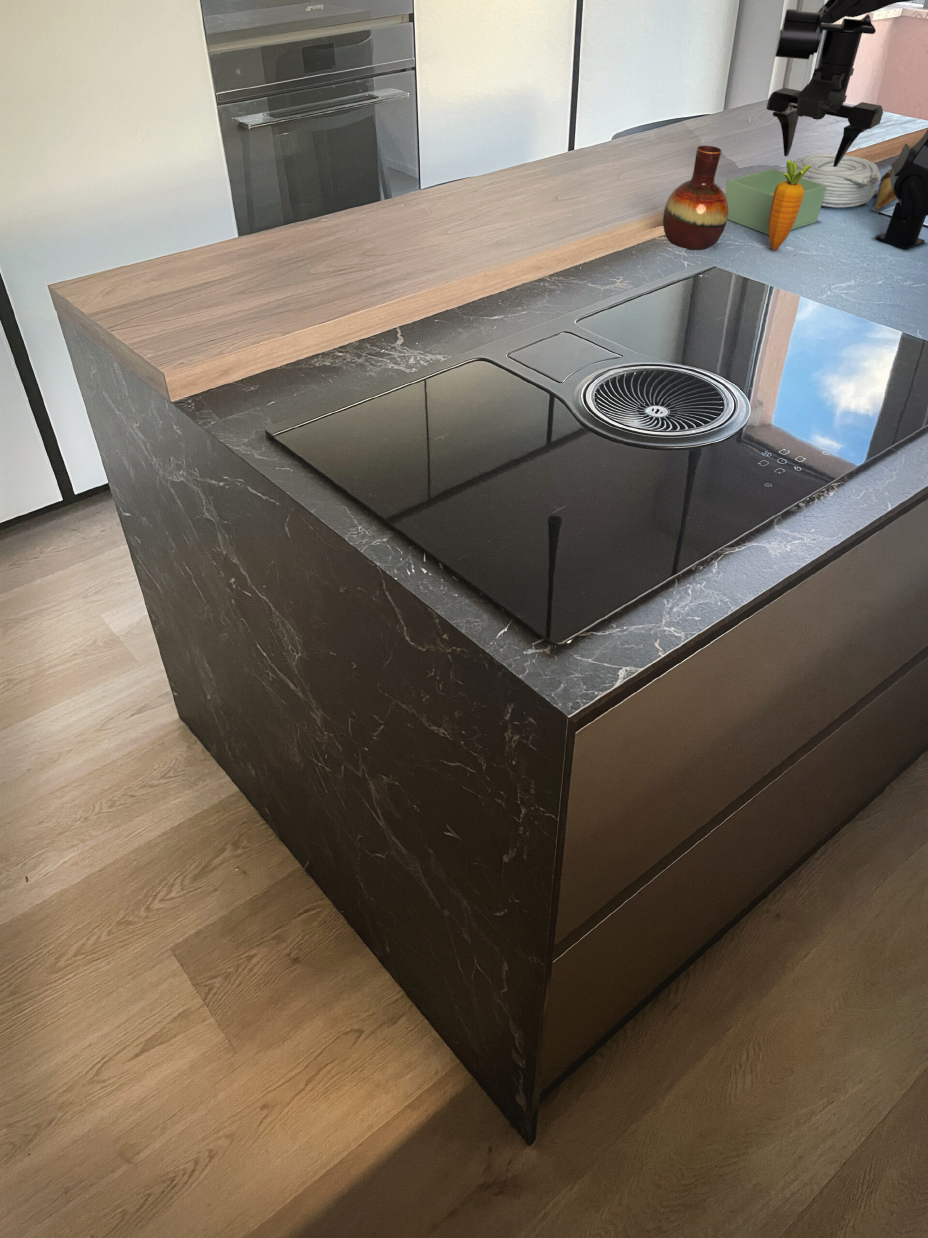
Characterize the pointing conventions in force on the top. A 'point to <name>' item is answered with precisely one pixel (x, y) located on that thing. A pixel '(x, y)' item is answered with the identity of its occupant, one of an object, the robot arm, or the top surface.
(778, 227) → the carrot
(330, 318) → the top surface
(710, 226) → the vase
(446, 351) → the top surface
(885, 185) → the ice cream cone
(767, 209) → the storage bin
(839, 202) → the cable
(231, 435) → the top surface
